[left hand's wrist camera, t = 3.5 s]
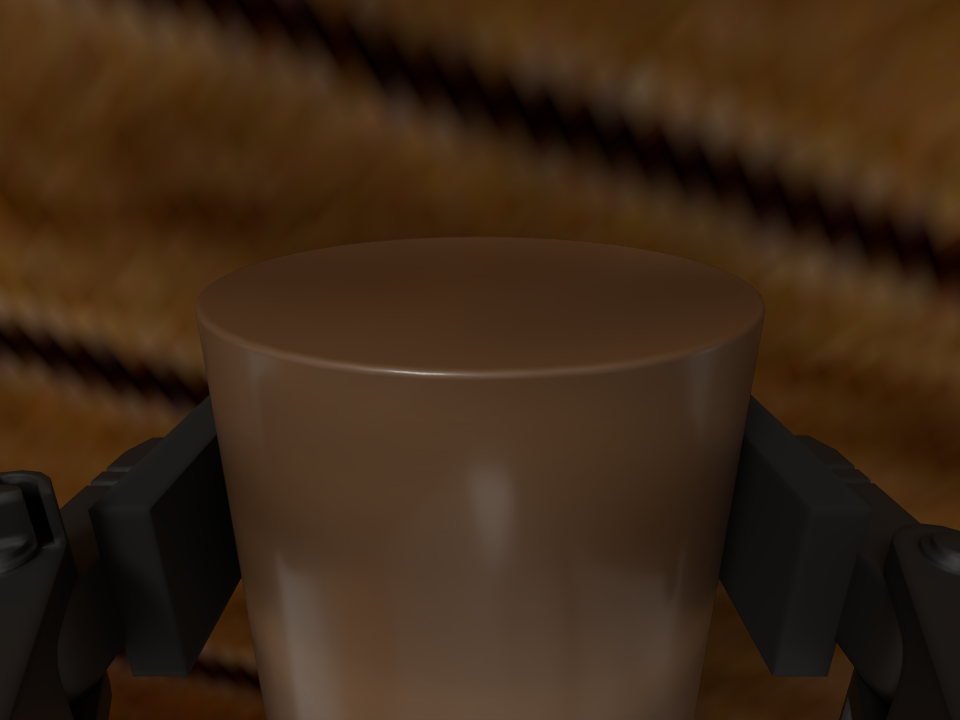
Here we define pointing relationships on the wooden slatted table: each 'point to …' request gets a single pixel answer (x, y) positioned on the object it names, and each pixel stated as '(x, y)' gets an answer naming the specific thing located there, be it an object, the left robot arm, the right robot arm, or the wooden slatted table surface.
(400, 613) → the brown wooden cylinder
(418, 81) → the wooden slatted table surface
